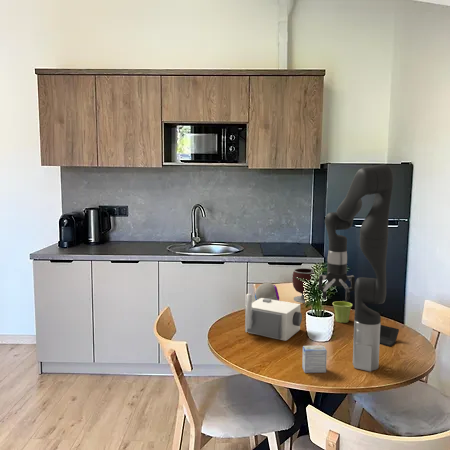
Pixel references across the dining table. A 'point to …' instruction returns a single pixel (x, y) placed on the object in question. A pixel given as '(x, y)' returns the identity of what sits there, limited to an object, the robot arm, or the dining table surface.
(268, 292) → the grey rounded dome
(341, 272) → the robot arm
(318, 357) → the medicine box
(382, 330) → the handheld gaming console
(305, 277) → the mate gourd
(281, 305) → the cabinet housing
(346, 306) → the plant pot
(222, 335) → the dining table surface
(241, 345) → the dining table surface
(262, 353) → the dining table surface
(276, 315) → the side door
